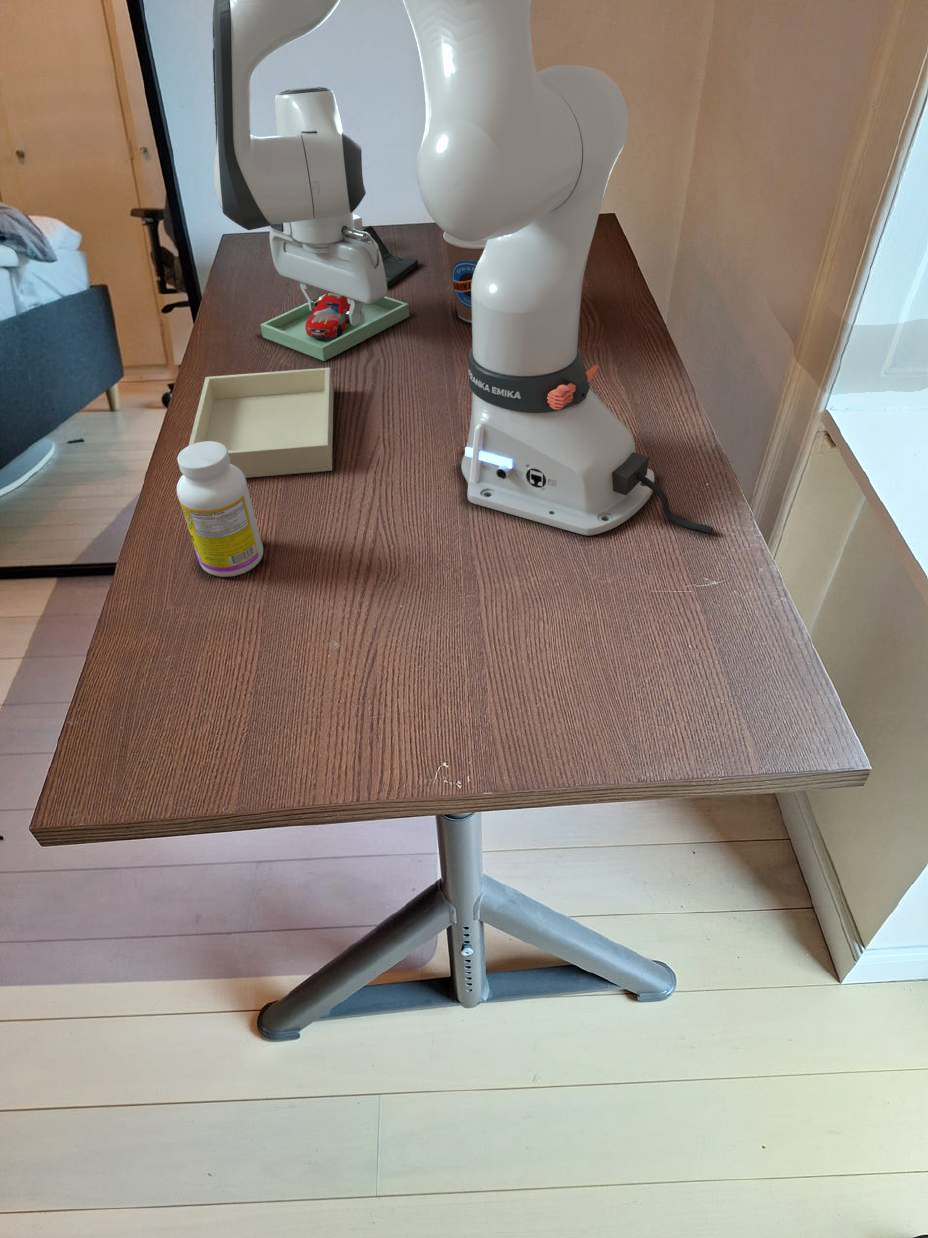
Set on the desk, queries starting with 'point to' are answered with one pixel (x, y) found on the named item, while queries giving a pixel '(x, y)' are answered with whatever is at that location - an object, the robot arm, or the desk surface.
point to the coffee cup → (463, 271)
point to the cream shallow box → (269, 420)
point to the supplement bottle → (218, 510)
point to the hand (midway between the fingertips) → (335, 317)
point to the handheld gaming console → (392, 260)
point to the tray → (293, 335)
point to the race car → (328, 317)
